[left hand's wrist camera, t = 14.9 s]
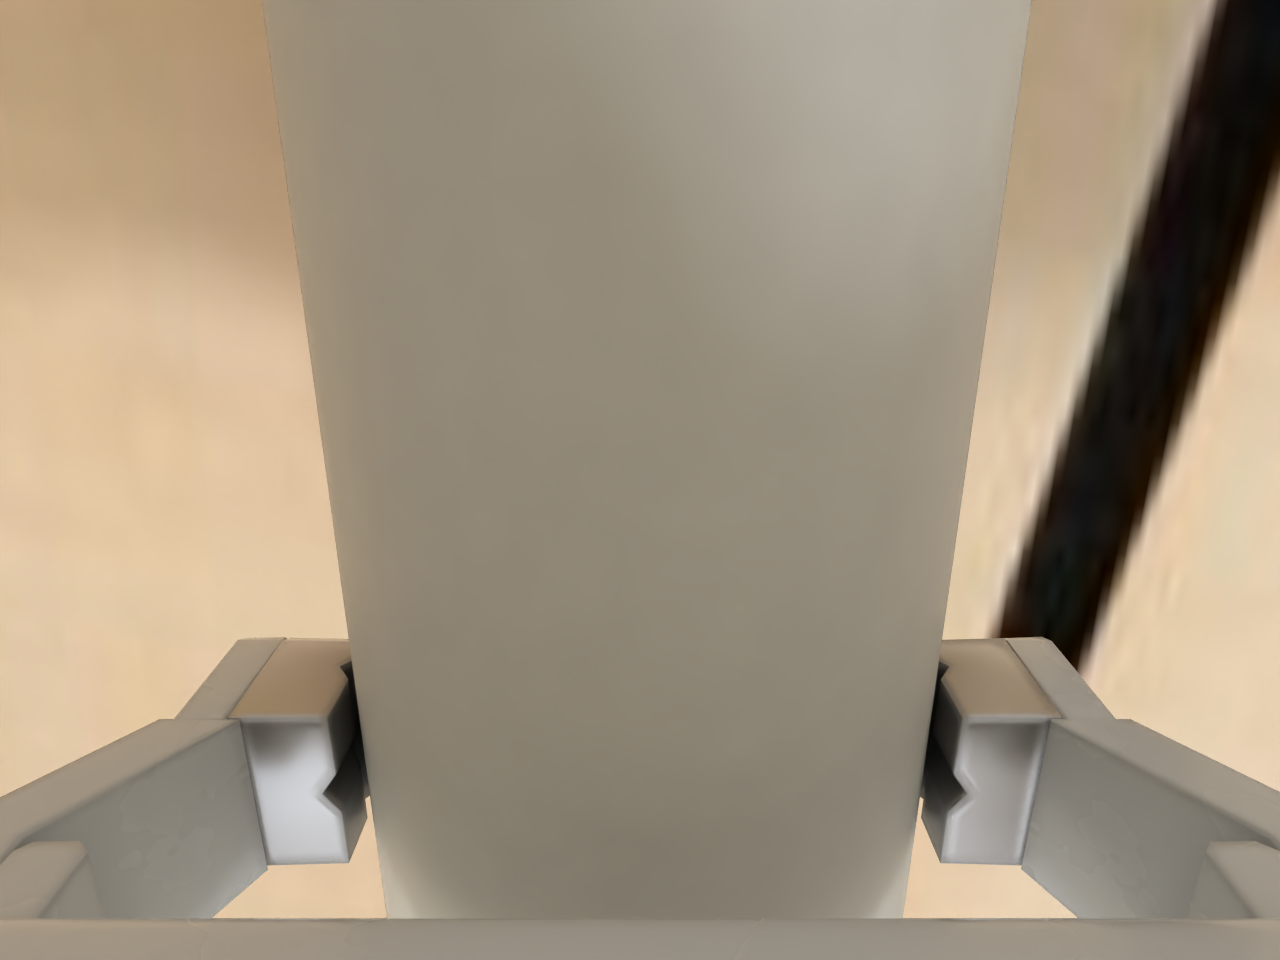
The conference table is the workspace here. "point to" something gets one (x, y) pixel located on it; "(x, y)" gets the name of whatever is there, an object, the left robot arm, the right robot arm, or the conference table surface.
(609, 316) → the rod
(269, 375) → the conference table surface
